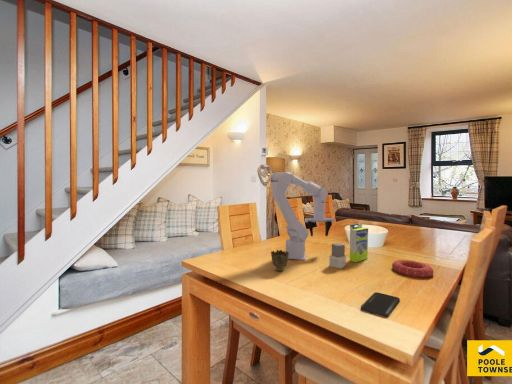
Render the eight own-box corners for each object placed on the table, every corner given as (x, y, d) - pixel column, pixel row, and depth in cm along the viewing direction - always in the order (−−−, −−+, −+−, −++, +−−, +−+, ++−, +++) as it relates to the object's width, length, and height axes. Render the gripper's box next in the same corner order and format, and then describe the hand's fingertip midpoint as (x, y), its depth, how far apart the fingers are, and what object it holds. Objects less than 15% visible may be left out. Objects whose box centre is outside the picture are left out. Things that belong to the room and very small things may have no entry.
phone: (400, 298, 90) (387, 315, 78) (400, 301, 90) (387, 319, 78) (375, 291, 95) (359, 307, 83) (374, 295, 95) (359, 310, 83)
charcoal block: (336, 257, 122) (336, 245, 122) (331, 254, 126) (331, 243, 126) (344, 256, 124) (344, 245, 123) (339, 254, 127) (339, 243, 127)
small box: (334, 263, 129) (334, 253, 129) (346, 266, 126) (346, 255, 125) (328, 266, 125) (328, 255, 125) (341, 269, 121) (341, 257, 121)
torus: (384, 268, 123) (384, 260, 123) (410, 265, 127) (410, 257, 127) (413, 280, 108) (413, 271, 108) (442, 277, 112) (442, 268, 111)
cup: (276, 274, 114) (276, 255, 113) (267, 269, 120) (267, 251, 120) (291, 271, 117) (292, 252, 117) (282, 266, 124) (282, 249, 123)
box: (356, 262, 130) (356, 225, 129) (348, 260, 133) (348, 224, 133) (368, 258, 137) (369, 223, 136) (360, 257, 140) (361, 222, 139)
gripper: (306, 210, 141) (306, 237, 141) (335, 210, 141) (335, 237, 141) (304, 209, 148) (304, 234, 148) (331, 209, 148) (331, 234, 148)
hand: (319, 235), depth 145 cm, fingers open, 7 cm apart
